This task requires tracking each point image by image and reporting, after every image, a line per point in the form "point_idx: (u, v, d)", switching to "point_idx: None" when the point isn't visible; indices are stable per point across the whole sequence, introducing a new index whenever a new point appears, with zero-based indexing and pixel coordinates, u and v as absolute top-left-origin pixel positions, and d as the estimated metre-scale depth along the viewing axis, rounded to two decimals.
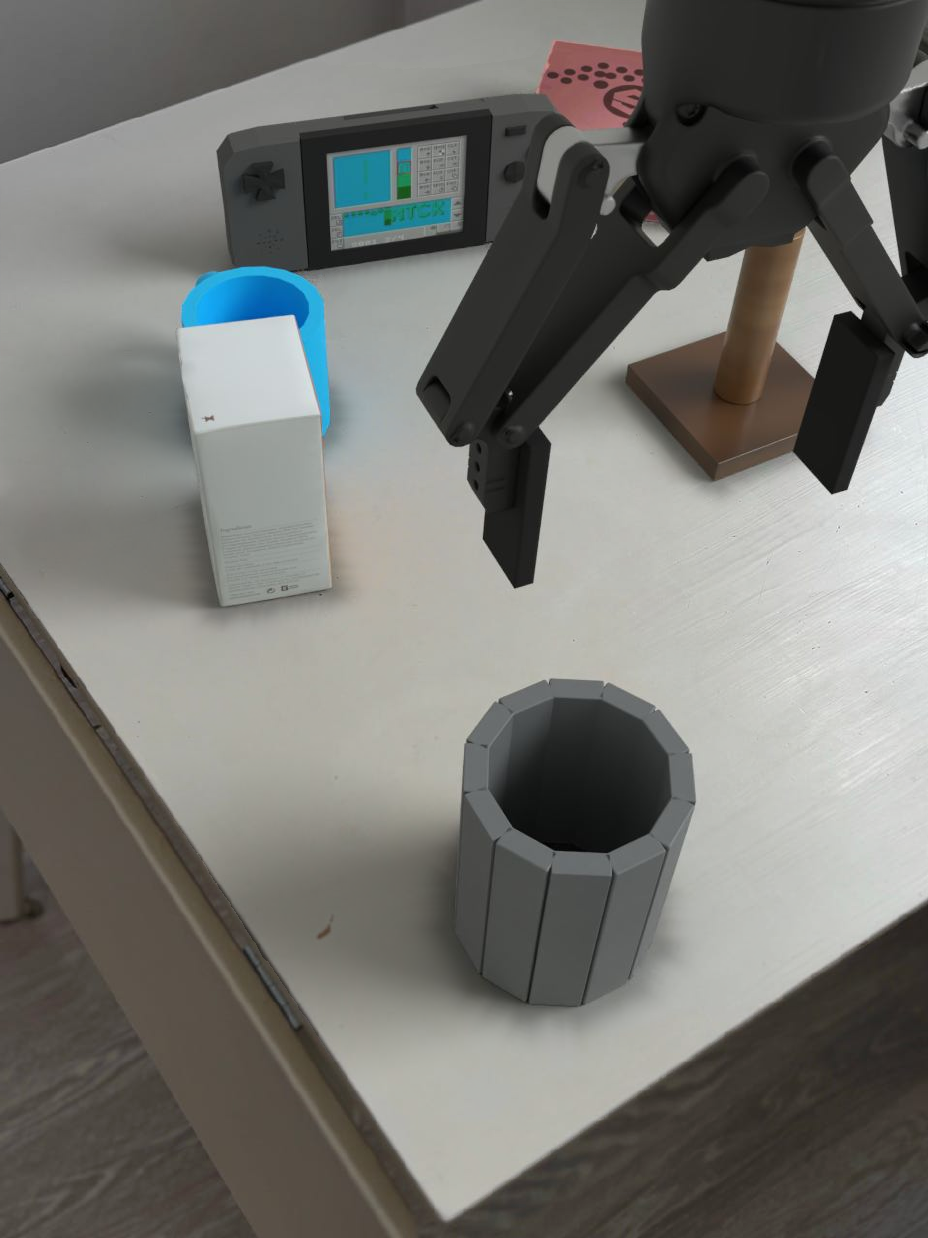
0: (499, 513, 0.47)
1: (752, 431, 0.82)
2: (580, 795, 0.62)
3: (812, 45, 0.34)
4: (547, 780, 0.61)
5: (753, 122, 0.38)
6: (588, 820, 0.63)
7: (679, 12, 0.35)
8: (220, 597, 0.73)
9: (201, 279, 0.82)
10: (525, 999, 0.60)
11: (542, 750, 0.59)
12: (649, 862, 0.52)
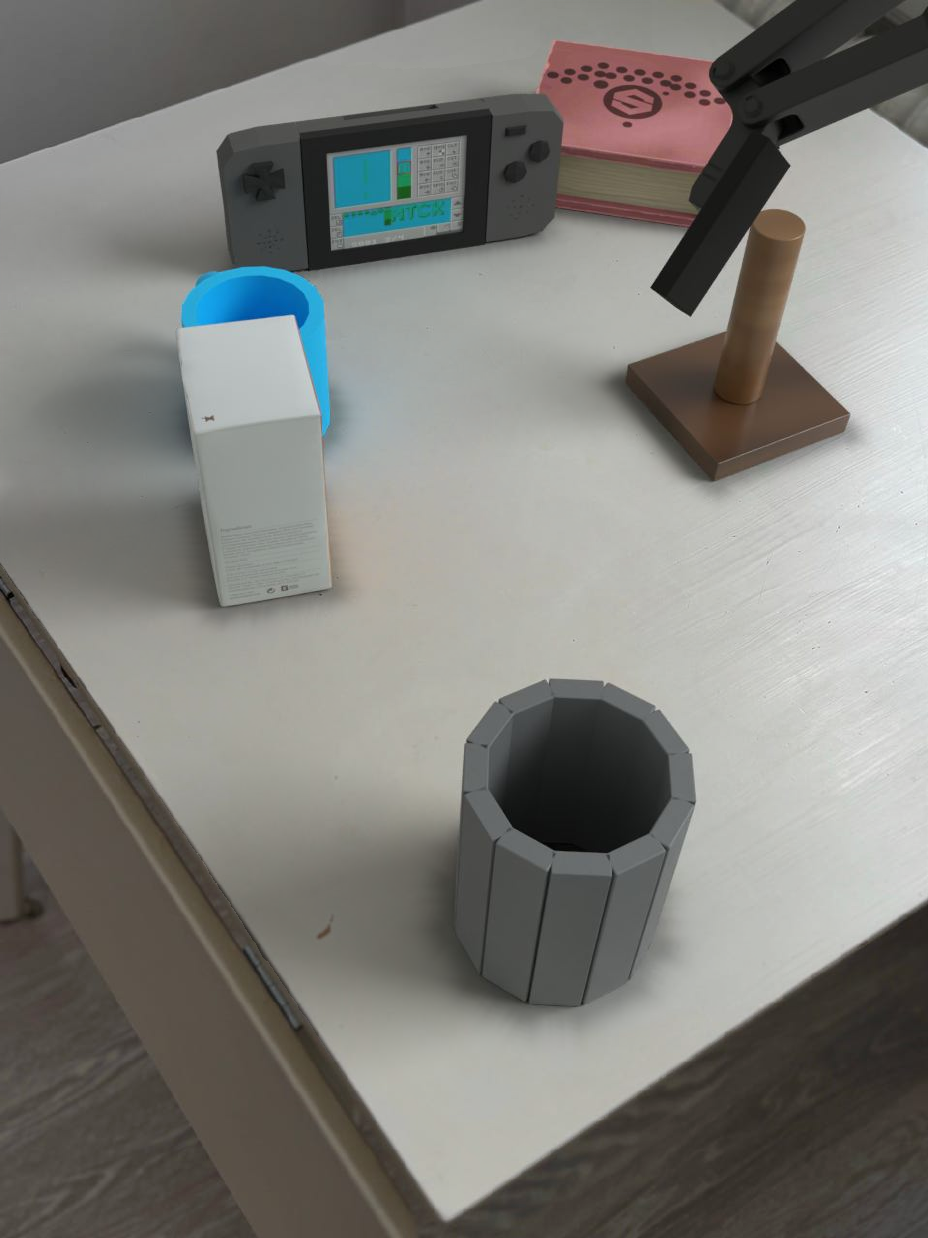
0: None
1: (752, 431, 0.82)
2: (580, 795, 0.62)
3: None
4: (547, 780, 0.61)
5: None
6: (588, 820, 0.63)
7: None
8: (220, 597, 0.73)
9: (201, 279, 0.82)
10: (525, 999, 0.60)
11: (542, 750, 0.59)
12: (649, 862, 0.52)
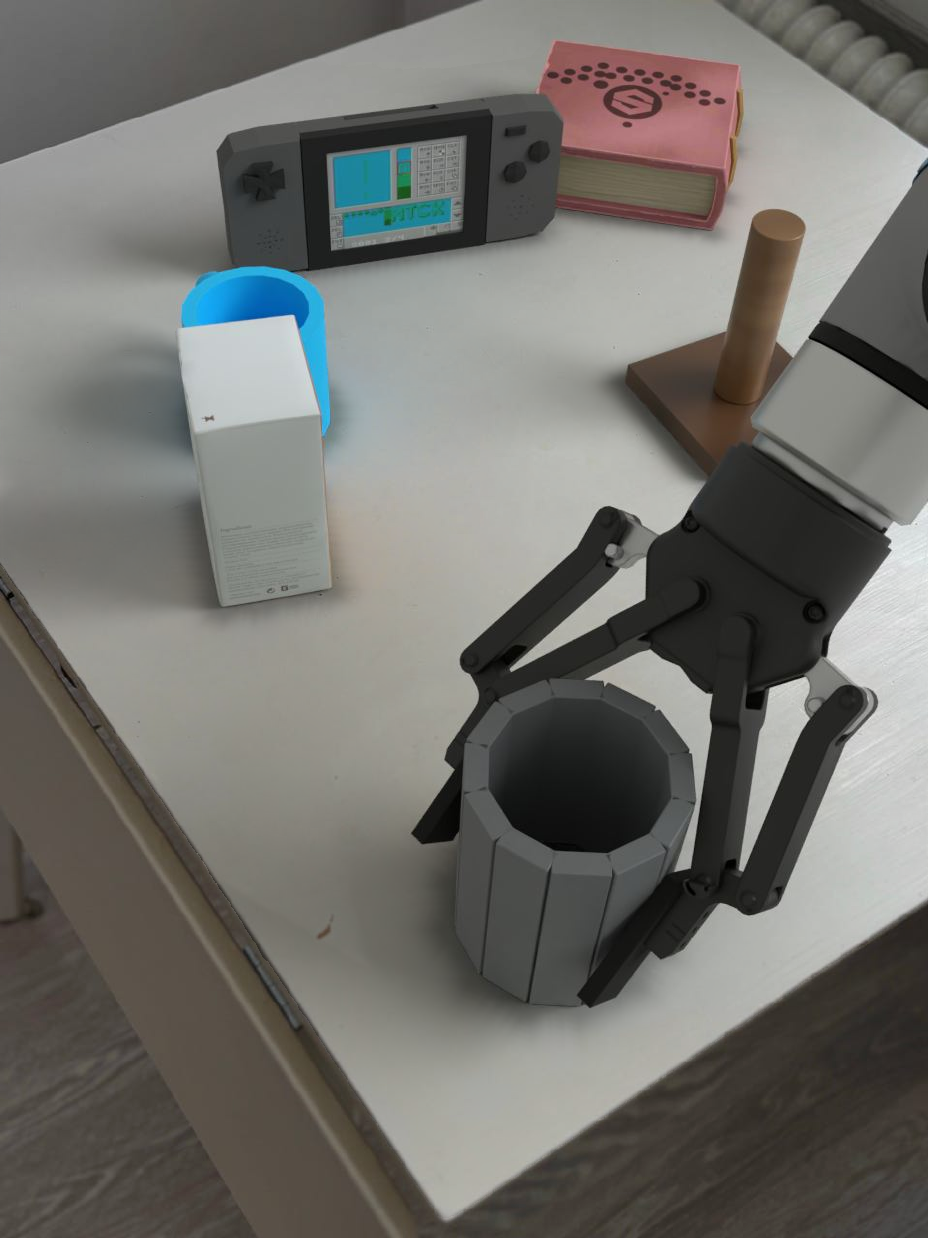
0: None
1: (752, 431, 0.82)
2: (580, 795, 0.62)
3: (739, 479, 0.52)
4: (547, 780, 0.61)
5: (720, 565, 0.54)
6: (588, 820, 0.63)
7: None
8: (220, 597, 0.73)
9: (201, 279, 0.82)
10: (525, 999, 0.60)
11: (542, 750, 0.59)
12: (649, 862, 0.52)
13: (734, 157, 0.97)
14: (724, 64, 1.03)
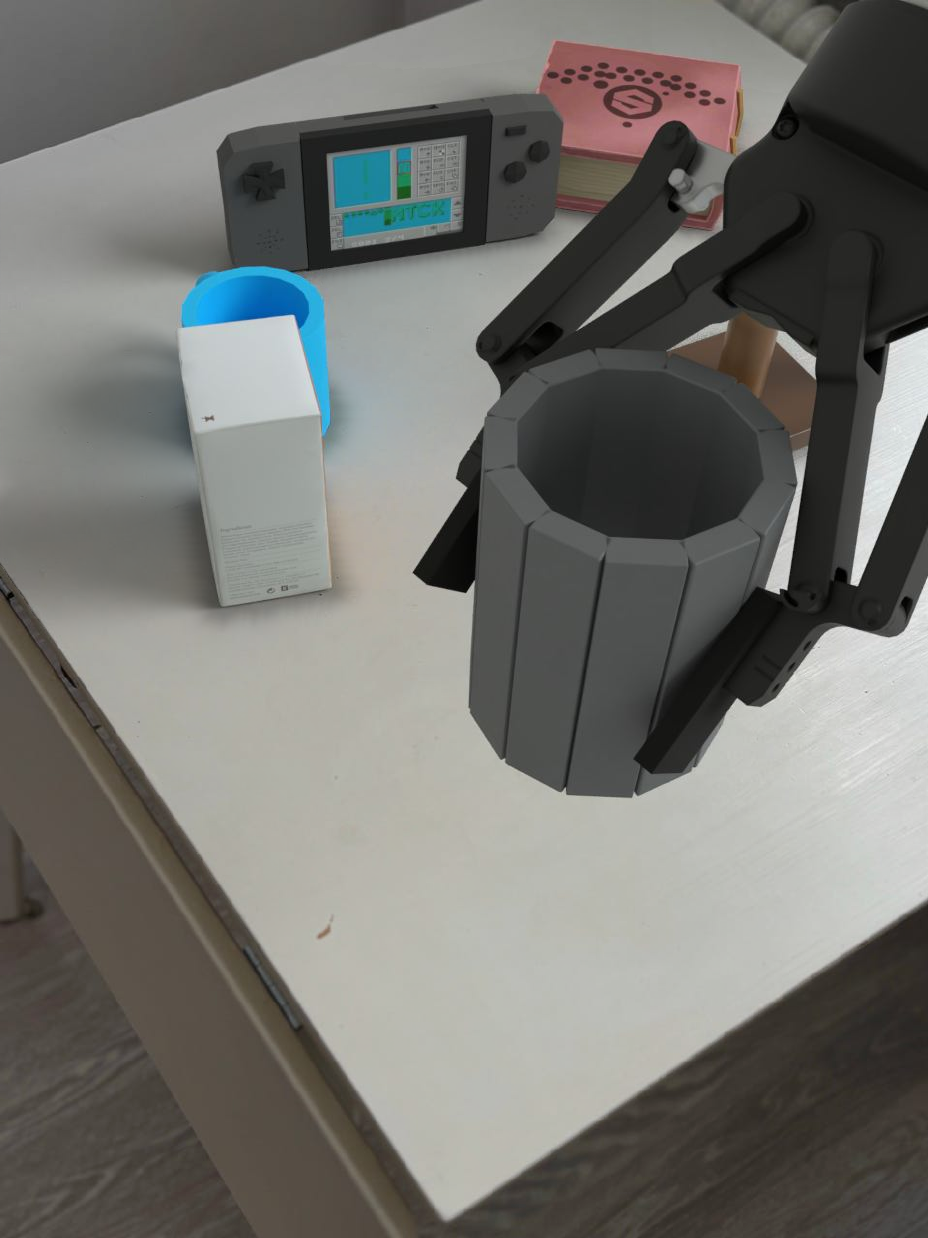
0: None
1: None
2: (630, 534, 0.48)
3: (860, 33, 0.38)
4: (588, 510, 0.47)
5: (826, 175, 0.41)
6: None
7: None
8: (220, 597, 0.73)
9: (201, 279, 0.82)
10: (561, 788, 0.46)
11: (584, 458, 0.45)
12: (738, 553, 0.38)
13: None
14: (724, 64, 1.03)
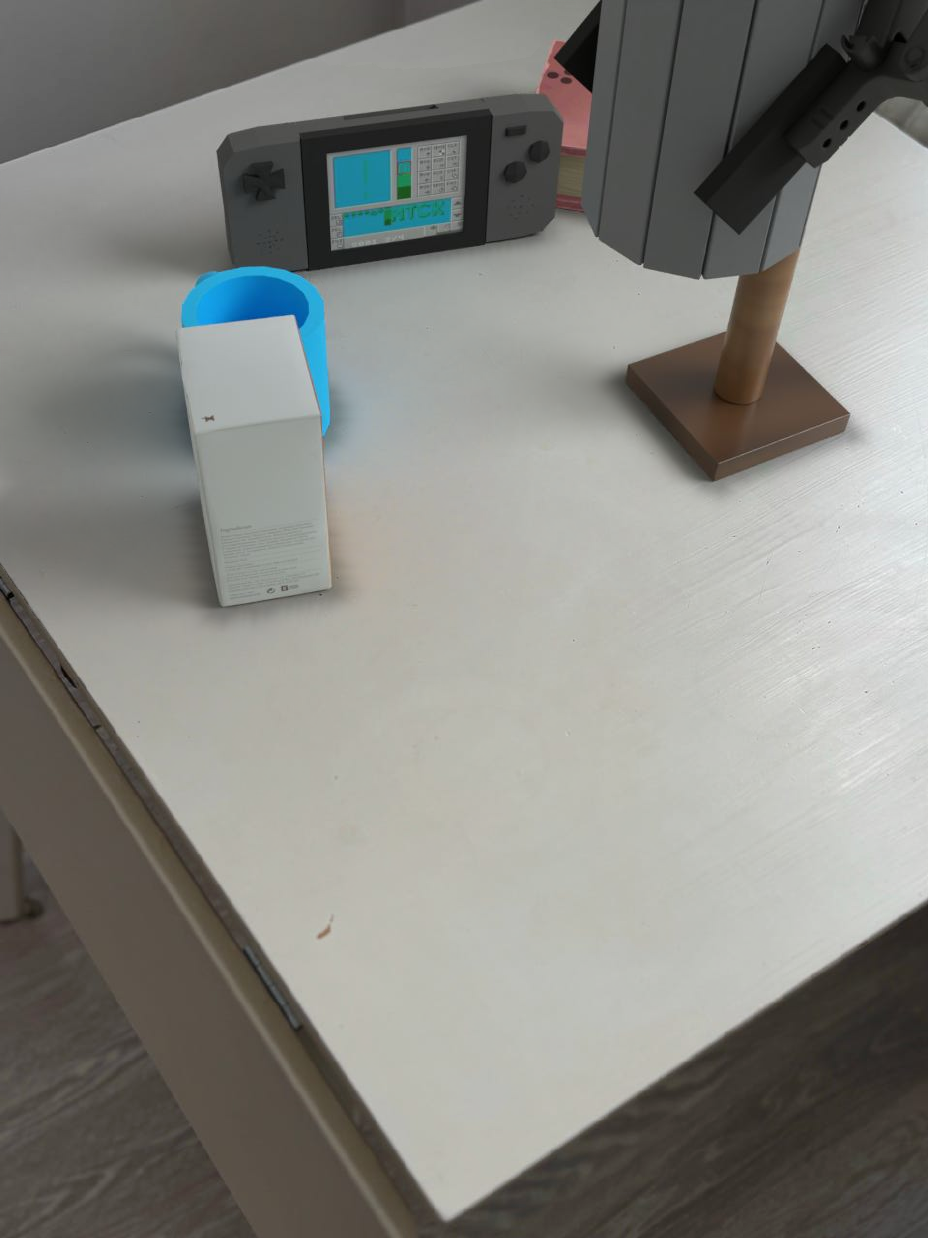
0: None
1: (752, 431, 0.82)
2: None
3: None
4: None
5: None
6: None
7: None
8: (220, 597, 0.73)
9: (201, 279, 0.82)
10: (639, 259, 0.54)
11: None
12: None
13: None
14: None
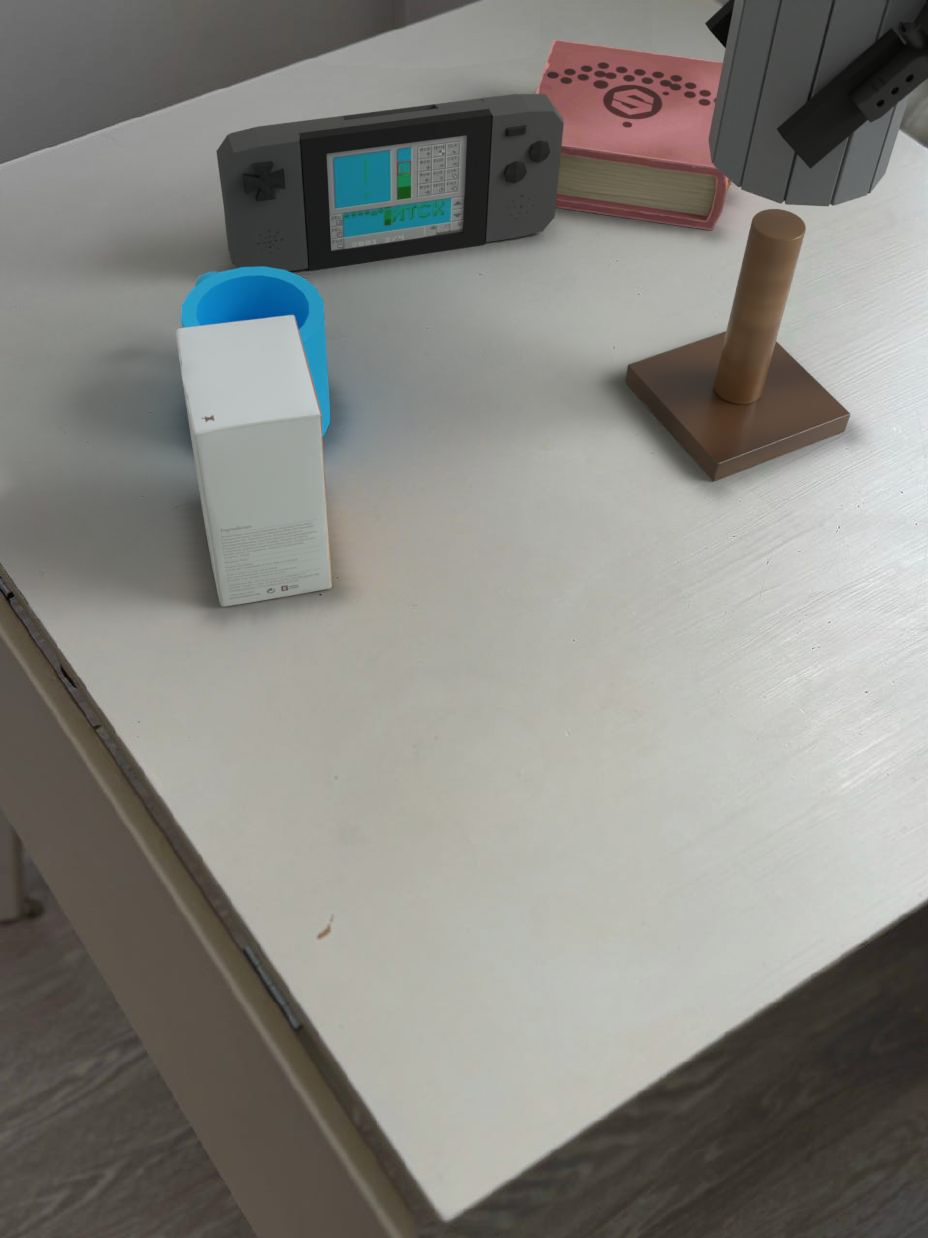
0: None
1: (752, 431, 0.82)
2: None
3: None
4: None
5: None
6: None
7: None
8: (220, 597, 0.73)
9: (201, 279, 0.82)
10: (739, 182, 0.70)
11: None
12: None
13: None
14: None
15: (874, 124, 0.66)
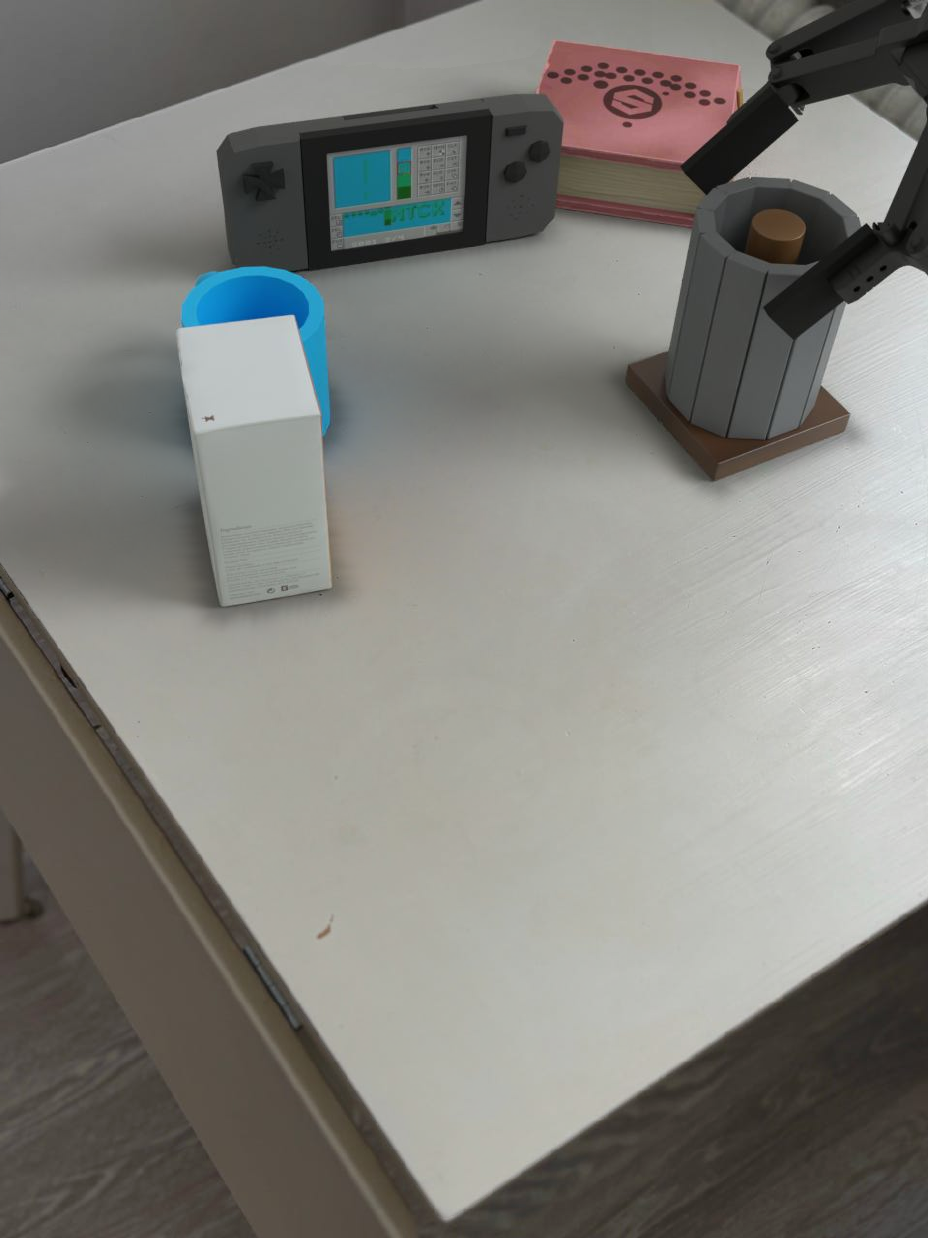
0: None
1: None
2: None
3: None
4: None
5: None
6: None
7: None
8: (220, 597, 0.73)
9: (201, 279, 0.82)
10: (689, 417, 0.82)
11: None
12: (796, 279, 0.73)
13: None
14: (724, 64, 1.03)
15: (800, 379, 0.79)
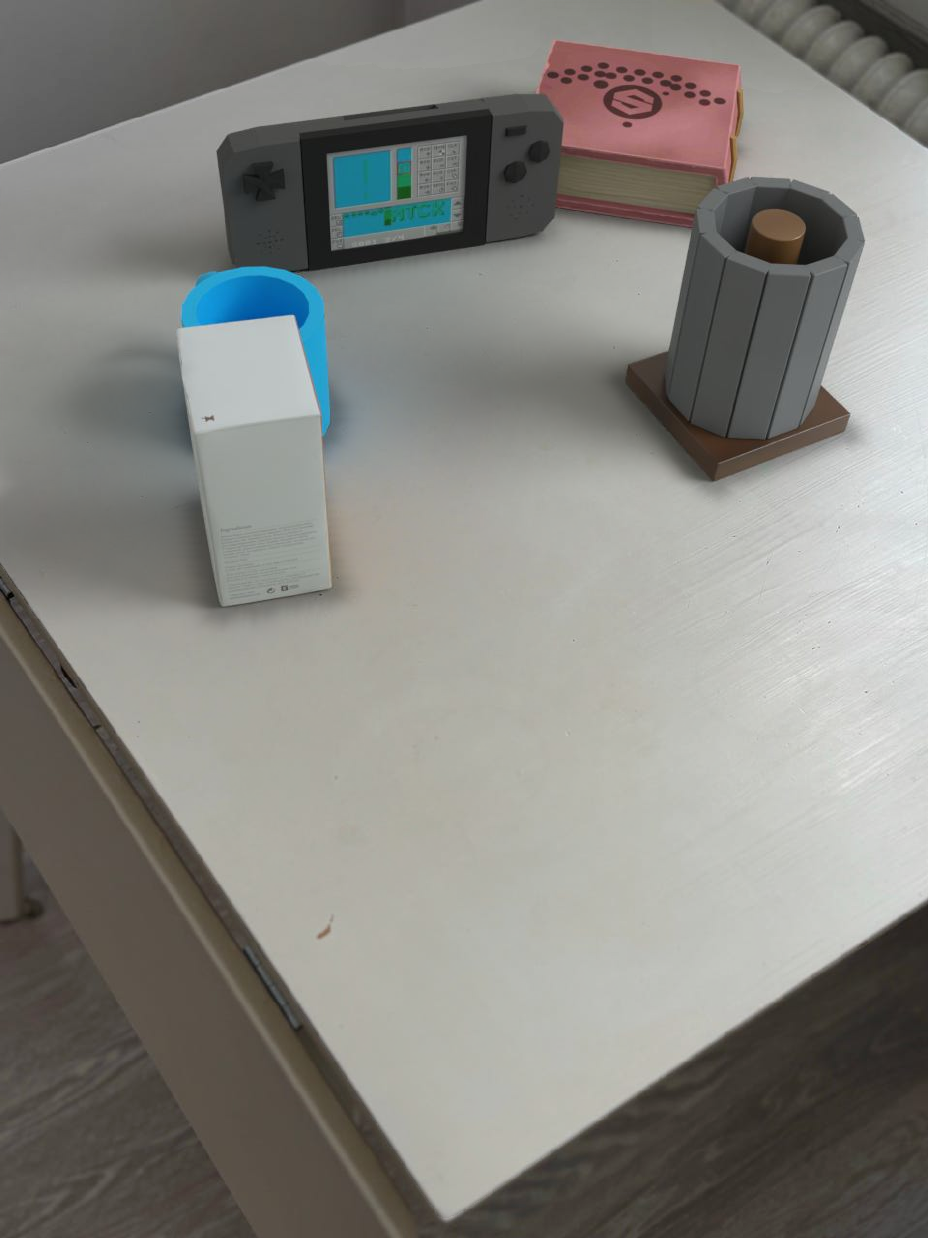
0: None
1: None
2: None
3: None
4: None
5: None
6: None
7: None
8: (220, 597, 0.73)
9: (201, 279, 0.82)
10: (689, 417, 0.82)
11: None
12: (796, 279, 0.73)
13: (734, 157, 0.97)
14: (724, 64, 1.03)
15: (800, 379, 0.79)
